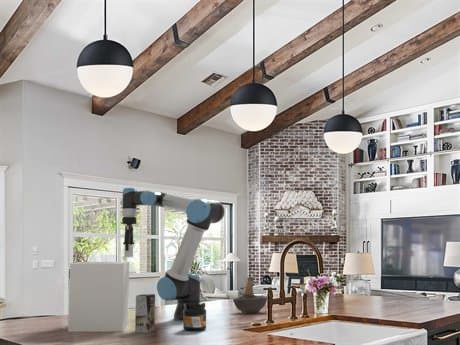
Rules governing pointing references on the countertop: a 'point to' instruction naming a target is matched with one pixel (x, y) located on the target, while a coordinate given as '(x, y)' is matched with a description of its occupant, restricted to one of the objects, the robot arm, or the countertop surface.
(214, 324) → the countertop surface
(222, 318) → the countertop surface
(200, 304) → the supplement container
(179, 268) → the robot arm
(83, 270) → the shelf unit
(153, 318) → the coffee box
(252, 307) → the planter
